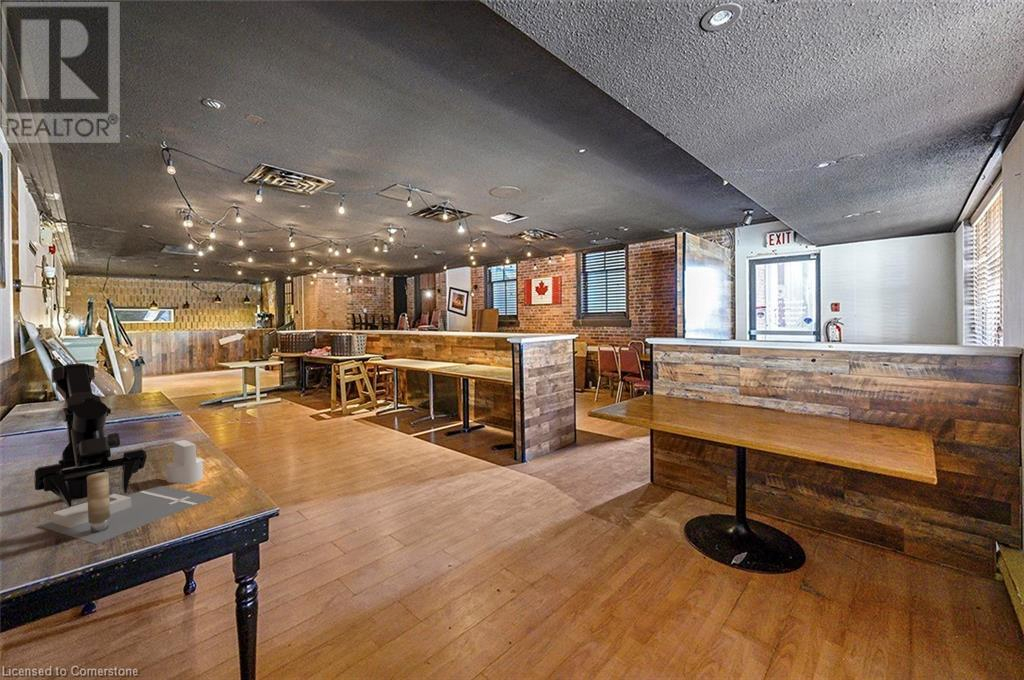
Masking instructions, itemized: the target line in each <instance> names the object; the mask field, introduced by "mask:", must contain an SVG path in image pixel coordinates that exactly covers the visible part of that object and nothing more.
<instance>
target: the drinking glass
mask: <svg viewBox="0 0 1024 680" xmlns="http://www.w3.org/2000/svg"><path fill="white" fill-rule="evenodd" d="M172 443H173V444H172V445H173V449H172V450H173V460H172V461H170V462H168V463H166V466H165V469H166V471H165V472H166V473H165V474H166V482H167V483H174V484H179V485H186V486H189V485H188V484H190V485H192V484H191V483H193V484H196V483H198V482H197V481H199V480H200V479H202V478H203V479H204V458H202V457H197V448H196V444H195V443H193V442H191V441H189V440H186V439H183V440H182V439H181V440H177V441H173V442H172ZM203 479H202V480H203ZM195 482H196V483H195ZM199 482H200V481H199Z"/></svg>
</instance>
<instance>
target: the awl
mask: <svg viewBox="0 0 1024 680" xmlns="http://www.w3.org/2000/svg"><path fill="white" fill-rule="evenodd" d="M109 474H110V473H109V472H106V471H105V472H102V473H96V474H92V475H89V476H87V496H88V497H87V502H88V522H89V523H90V528H91V533H98V532H102V531H105V530H107V529H108V528H109V522H108V519H109V518H110V498H109V495H110V475H109Z"/></svg>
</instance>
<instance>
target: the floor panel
mask: <svg viewBox="0 0 1024 680" xmlns="http://www.w3.org/2000/svg"><path fill="white" fill-rule="evenodd" d="M125 496H126V497H130V498H131V507H130V508H127V509H124V510H121V511H118V512H115V513H112V514H110V518H109V519H108V522H109V528H108V529H107V530H105V531H102V532H98V533H91V528H90V523H89V522H86V523H83V524H80V525H77V526H74V527H72V528H68V527H65V526H62V525H58V524H55V523H53V519H50V520H47V521H44V522H43V521H42V522H41V523H40V522H39V523H38V524H36V526H38V527H41V528H44V529H48V530H50V531H53V532H56V533H60V534H62V535H66V536H69V537H73V538H75V539H78V540H82V541H84V542H88V543H90V544H94V545H97V544H99V543H102V542H105V541H108V540H110V539H113V538H115V537H118V536H120V535H123V534H125V533H128V532H131V531H133V530H136V529H139V528H140V527H143V526H146V525H149V524H152V523H153V522H156V521H159V520H161V519H164V518H166V517H167V518H168V517H169V516H172V515H175V514H178V513H180V512H182V511H184V510H187V509H190V508H192V507H195V506H197V505H200V504H203V503H205V502H208V501H210V500H213V499H215V498H216V497H215V496H211V495H208V494H207V495H206V494H202V493H197V492H192V491H187V490H184V489H179V488H175V487H170V486H165V485H161V484H160V485H157V486H153V487H149V488H147V489H143V490H141V491H137V492H135V493H132V494H128V495H125Z"/></svg>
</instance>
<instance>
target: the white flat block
mask: <svg viewBox="0 0 1024 680" xmlns="http://www.w3.org/2000/svg"><path fill="white" fill-rule="evenodd" d="M126 496H127V495H122V494H118V493H112V494H109V498H110V514H112V513H115V512H118V511H121V510H124V509H127V508H130V507H131V498H130V497H126ZM52 520H53V523H55V524H58V525H62V526H65V527H68V528H72V527H74V526H77V525H80V524H83V523H86V522H88V501H87V502H84V503H80V504H76V505H74V506H71V507H67V508H64V509H61V510H60V509H59V510H58V511H54V512H53V513H52Z"/></svg>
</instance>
